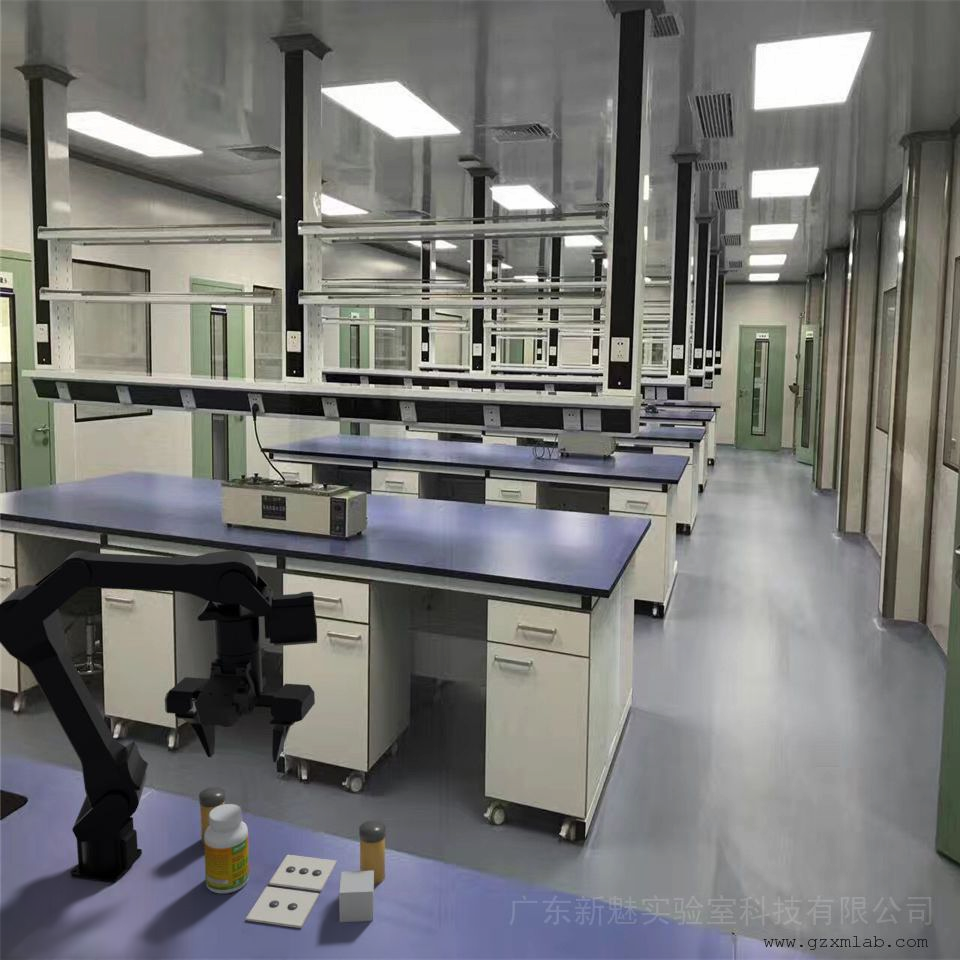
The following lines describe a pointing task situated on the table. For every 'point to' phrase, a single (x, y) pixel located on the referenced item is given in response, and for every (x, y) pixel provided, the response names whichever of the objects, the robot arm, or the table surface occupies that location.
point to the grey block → (356, 896)
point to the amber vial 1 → (209, 805)
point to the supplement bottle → (226, 850)
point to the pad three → (303, 873)
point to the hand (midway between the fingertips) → (243, 758)
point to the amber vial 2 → (373, 848)
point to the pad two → (283, 907)
